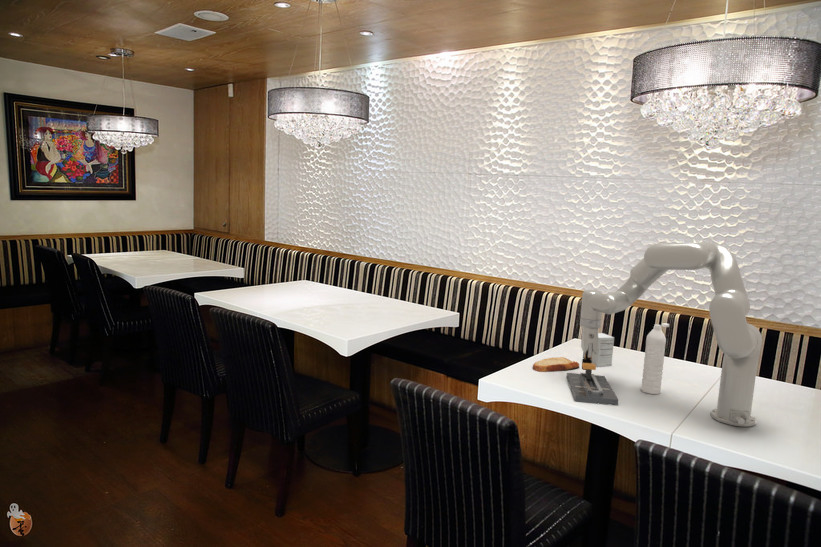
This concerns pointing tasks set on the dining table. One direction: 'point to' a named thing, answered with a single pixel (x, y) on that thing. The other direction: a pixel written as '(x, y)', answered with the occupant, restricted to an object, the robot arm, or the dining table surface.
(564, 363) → the bread slice
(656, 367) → the water bottle
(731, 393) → the robot arm
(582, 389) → the console
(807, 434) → the dining table surface
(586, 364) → the fader tab
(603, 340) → the supplement box
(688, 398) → the dining table surface
